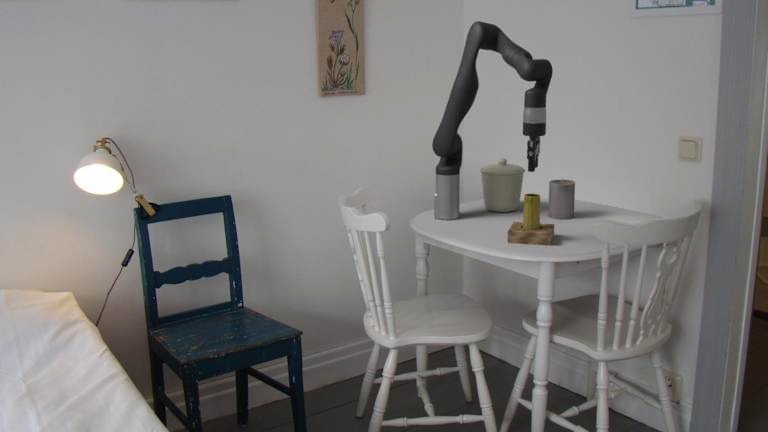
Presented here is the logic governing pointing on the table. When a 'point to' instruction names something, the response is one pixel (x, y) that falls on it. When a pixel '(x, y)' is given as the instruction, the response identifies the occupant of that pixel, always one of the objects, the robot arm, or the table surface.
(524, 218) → the vase
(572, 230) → the table surface
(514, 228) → the socket block
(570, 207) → the pillar candle
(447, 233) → the table surface
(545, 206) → the table surface
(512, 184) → the canister
